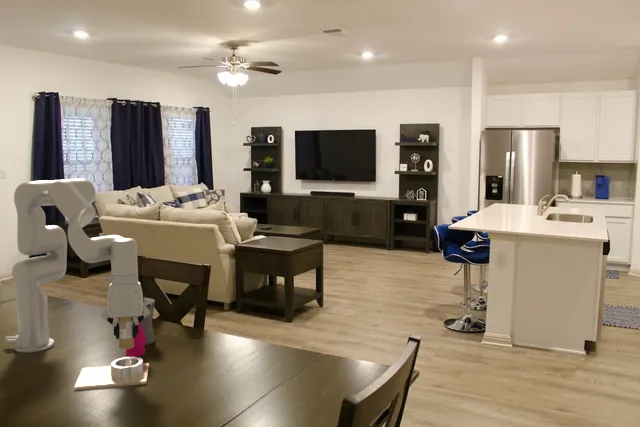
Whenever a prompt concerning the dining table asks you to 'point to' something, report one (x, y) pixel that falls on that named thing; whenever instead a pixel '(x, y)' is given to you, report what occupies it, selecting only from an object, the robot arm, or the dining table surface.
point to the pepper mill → (137, 344)
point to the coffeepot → (148, 321)
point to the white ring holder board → (114, 374)
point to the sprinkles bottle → (126, 333)
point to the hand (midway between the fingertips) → (126, 336)
